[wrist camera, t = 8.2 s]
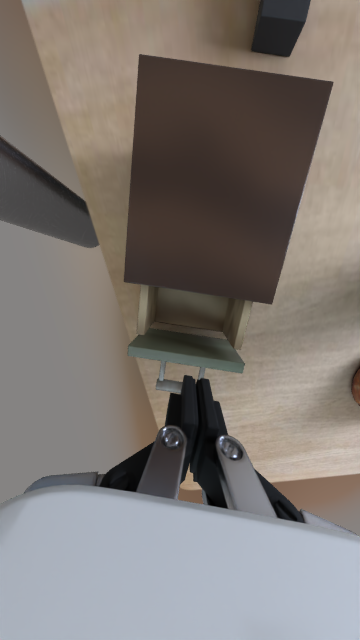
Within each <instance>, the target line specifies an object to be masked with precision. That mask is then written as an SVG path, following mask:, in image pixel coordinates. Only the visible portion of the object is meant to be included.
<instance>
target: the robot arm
mask: <svg viewBox="0 0 360 640" xmlns="http://www.w3.org/2000/svg"><path fill="white" fill-rule="evenodd" d="M189 463H190V472H191V473H193V481H194V482H198V484H199V485H200V486H201V488H202V498H203V504H204V505H203V504H197V503H192V502H186V501H181V500H177V499H178V493H179V487H180V484H181V483H182V482H183V481H184V480H185V477H186V473H187V471H188V467H189ZM0 640H360V536H358V535H357V534H355V533H353V532H352V531H350V530H348V529H346V528H343V527H341V526H339V525H336V524H334V523H332V522H330V521H327V520H325V519H323V518H321V517H318V516H316V515H314V514H312V513H309V512H307V511H305V510H302V509H301V510H300V512H299V511H298V510H297V509H296V508H295V507H294V505H293V504H292V503H291V502H290V501H289V500H287V498H286V497H285V496H283V495H282V494H281V493H280V492H279V491H278V490H277V489H276V488H275V487H273V485H272V484H270V483H269V482H268V481H267V480H266V479H265V478H264V477H263V476H262V475H261V474H260V473H259V472H257V471H256V470H255V469H254V467H253V465H252V463H251V461H250V459H249V457H248V455H247V453H246V451H245V449H244V447H243V445H242V444H241V443H240V442H239V441H238V440H237V439H235V438H234V437H232V436H229V435H228V433H227V429H226V425H225V422H224V418H223V414H222V410H221V406H220V403H219V402H218V401H213V396H212V392H211V387H210V382H209V379H204V378H200V380H198V379H197V382H196V383H195V379H193V377H192V376H188V375H184V379H183V384H182V389H181V394H175V393H170V398H169V403H168V409H167V415H166V421H165V426H164V427H162V428H161V429H160V430H159V432H158V434H157V437H156V440H155V441H154V442H153V443H151V444H150V445H148V446H147V447H145V448H144V449H142V450H140V451H139V452H137V453H136V454H134V455H133V456H131V457H129V458H128V459H126V460H125V461H123V462H121V463H120V464H119V465H117V466H115V467H114V468H112V469H111V470H109V472H107V473H106V474H99V475H98V472H87V473H75V474H63V475H51V476H46V477H43V478H41V479H39V480H37V481H35V482H34V483H33V484H32V485H30V486H29V487H28V488H27V489H26V491H25V492H24V493H23V494H21V495H18V496H16V497H14V498H11V499H9V500H7V501H5V502H3V503H1V504H0Z"/></svg>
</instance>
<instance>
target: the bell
mask: <svg viewBox="0 0 360 640" xmlns="http://www.w3.org/2000/svg"><path fill="white" fill-rule="evenodd" d="M352 395H353V398H354V399H355V401H356V402H357V403H359V406H360V368H359V370H358V371H357V373H356V374H355V377H354V379H353V384H352Z"/></svg>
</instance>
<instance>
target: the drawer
mask: <svg viewBox="0 0 360 640" xmlns="http://www.w3.org/2000/svg"><path fill="white" fill-rule="evenodd" d="M252 303H253V301H246V300H240V299H233V298H227V297H220V296H213V295H207V294H200V293H194V292H187V291H181V290H174V289H167V288H161V287H154V286H148V285H141V290H140V301H139V312H138V323H137V334H138V336H137V337H136V338H135V339H134V340H133V341H132V342H131V343H130V344H129V346H128V356H133V357H140V358H146V359H153V360H159V361H161V367H160V374H159V378H158V379H157V384H156V390H162V391H169V392H175V393H181V389H182V384H183V382H179V381H173V380H166V379H164V374H165V367H166V362H172V363H178V364H185V365H191V366H198V367H200V370H199V375H198V380H200V378H204V373H205V368H211V369H217V370H223V371H230V372H236V373H243V370H244V366H245V363H244V362H243V360H242V359H241V357H240V356H239V354H238V353H237V351H236V350H235V349H237V350H241V347H242V343H243V339H244V335H245V331H246V327H247V323H248V319H249V315H250V311H251V307H252ZM154 322H162V323H168V324H175V325H181V326H188V327H194V328H201V329H207V330H214V331H220V332H223V334H224V335H225V337H226V338H227V340H226V339H220V338H213V337H207V336H200V335H194V334H187V333H181V332H174V331H168V330H161V329H155V328H150V327H151V325H152V324H153V323H154Z"/></svg>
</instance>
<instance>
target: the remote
mask: <svg viewBox="0 0 360 640" xmlns="http://www.w3.org/2000/svg"><path fill="white" fill-rule="evenodd" d="M310 1H311V0H260V4H259V10H258V15H257V21H256V26H255V32H254V37H253V43H252V48H251V51H254V52H261V53H268V54H275V55H282V56H290V55H291V52H292V50H293V48H294V46H295V44H296V42H297V39H298V37H299V35H300V33H301V31H302V28H303V26H304V24H305V22H306V18H307V14H308V9H309V5H310Z"/></svg>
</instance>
